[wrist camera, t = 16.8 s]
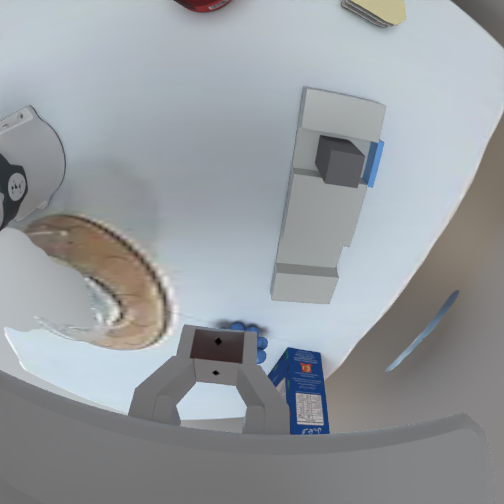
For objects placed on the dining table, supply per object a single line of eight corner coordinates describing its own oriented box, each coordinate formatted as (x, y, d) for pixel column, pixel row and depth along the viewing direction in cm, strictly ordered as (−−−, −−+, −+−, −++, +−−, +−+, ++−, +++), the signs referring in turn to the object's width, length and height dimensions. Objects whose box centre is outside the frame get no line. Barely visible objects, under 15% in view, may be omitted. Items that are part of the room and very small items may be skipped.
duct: (270, 290, 53) (270, 304, 50) (303, 86, 33) (307, 88, 30) (329, 294, 53) (332, 308, 50) (381, 103, 33) (391, 107, 30)
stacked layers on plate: (323, 23, 28) (333, 17, 23) (331, -32, 22) (341, -45, 18) (395, 44, 28) (414, 44, 24) (402, -9, 23) (421, -16, 18)
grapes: (207, 332, 60) (200, 381, 51) (211, 311, 56) (203, 362, 47) (262, 341, 62) (261, 390, 52) (270, 321, 58) (271, 373, 48)
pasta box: (276, 402, 80) (276, 489, 57) (250, 398, 79) (246, 488, 56) (320, 352, 64) (332, 469, 41) (287, 347, 63) (292, 470, 40)
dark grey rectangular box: (314, 163, 38) (324, 183, 32) (319, 134, 35) (331, 150, 30) (343, 167, 38) (357, 188, 32) (349, 140, 36) (365, 156, 30)
